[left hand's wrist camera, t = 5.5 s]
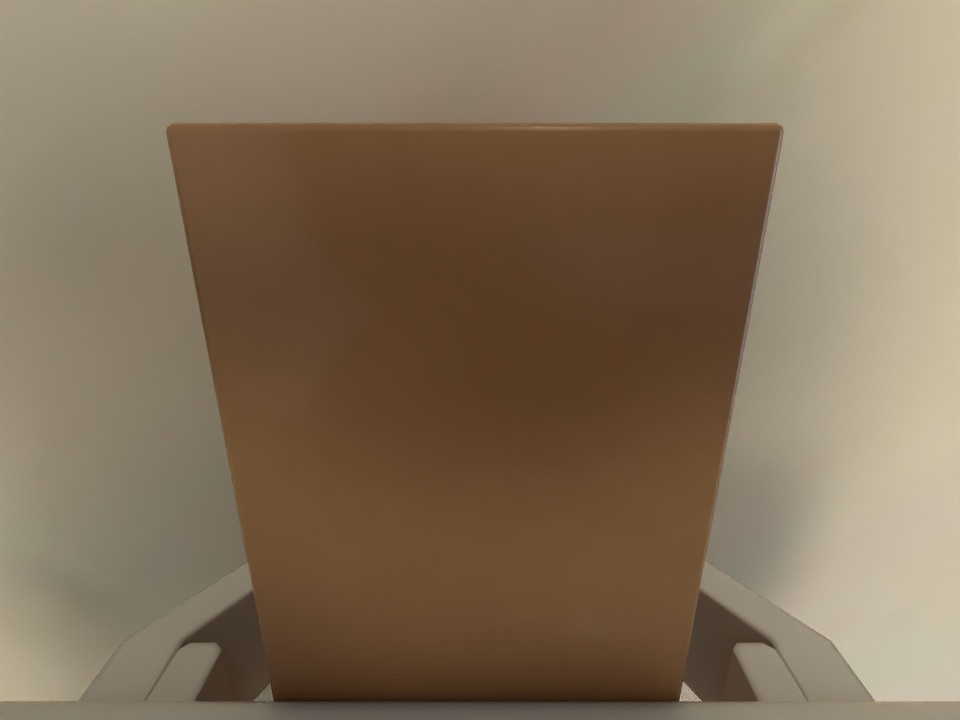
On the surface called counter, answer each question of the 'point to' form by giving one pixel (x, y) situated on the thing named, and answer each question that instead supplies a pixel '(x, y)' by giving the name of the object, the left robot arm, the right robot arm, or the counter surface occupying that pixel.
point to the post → (475, 391)
